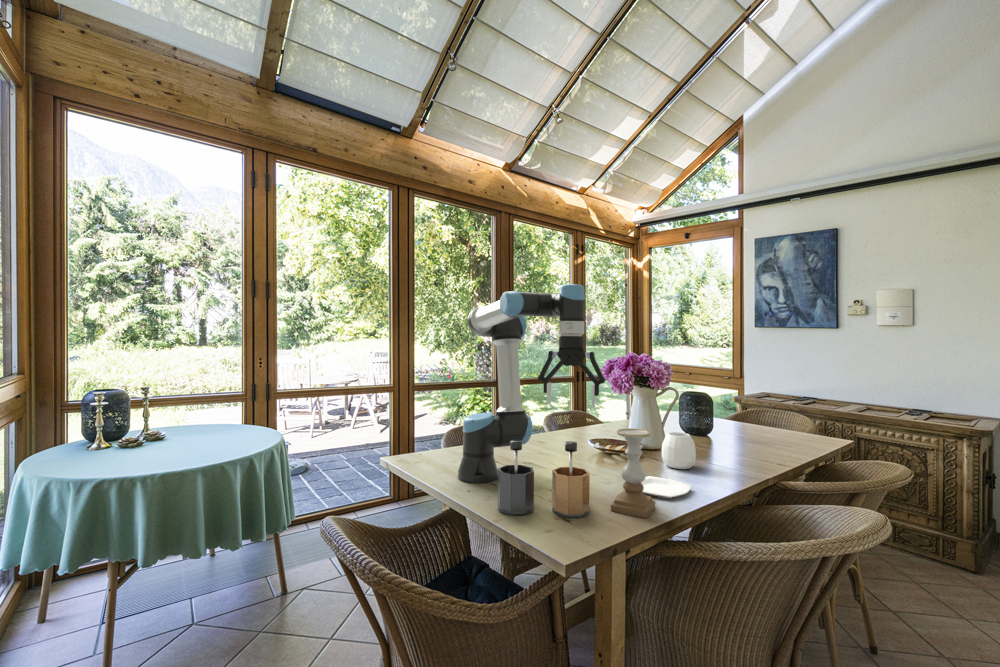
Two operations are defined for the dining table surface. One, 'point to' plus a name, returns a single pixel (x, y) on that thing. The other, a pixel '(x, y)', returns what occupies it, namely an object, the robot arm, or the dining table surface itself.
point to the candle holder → (633, 478)
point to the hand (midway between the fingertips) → (570, 405)
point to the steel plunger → (516, 451)
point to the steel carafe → (515, 490)
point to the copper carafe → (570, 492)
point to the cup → (678, 450)
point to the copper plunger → (570, 453)
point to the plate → (664, 487)
